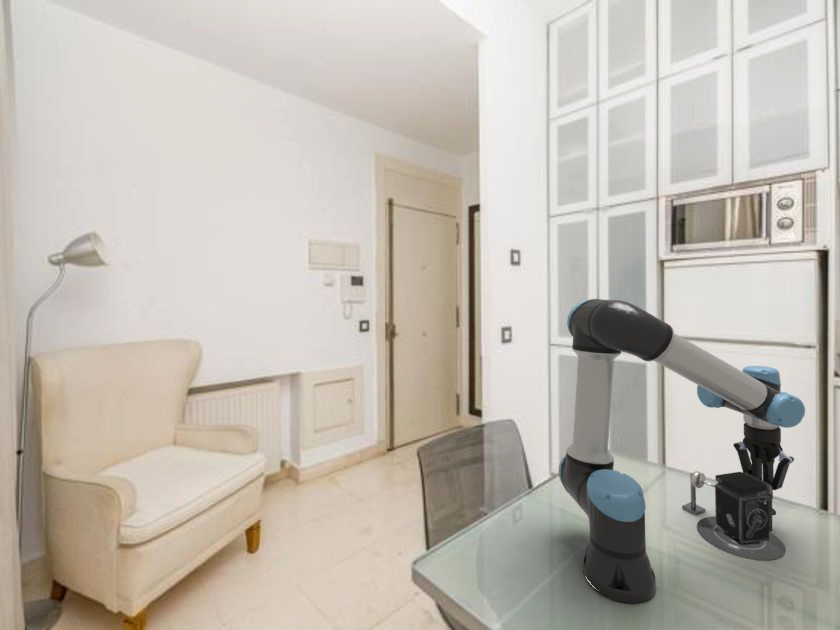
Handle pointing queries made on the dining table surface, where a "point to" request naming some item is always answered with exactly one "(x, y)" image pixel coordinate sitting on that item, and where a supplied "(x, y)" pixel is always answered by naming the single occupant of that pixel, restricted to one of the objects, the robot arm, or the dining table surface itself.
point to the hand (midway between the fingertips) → (763, 509)
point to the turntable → (733, 546)
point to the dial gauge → (698, 482)
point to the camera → (744, 506)
